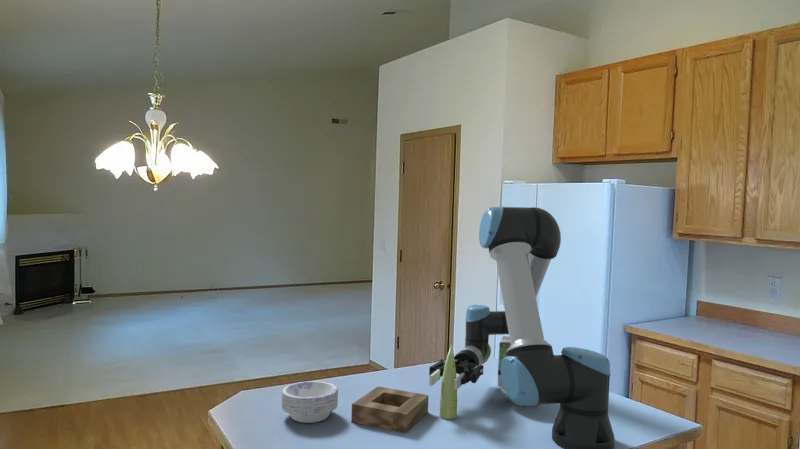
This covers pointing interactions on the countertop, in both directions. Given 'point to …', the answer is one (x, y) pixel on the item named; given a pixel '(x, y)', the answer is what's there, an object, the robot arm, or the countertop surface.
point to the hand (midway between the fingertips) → (443, 382)
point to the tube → (448, 388)
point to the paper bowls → (309, 400)
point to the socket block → (390, 409)
